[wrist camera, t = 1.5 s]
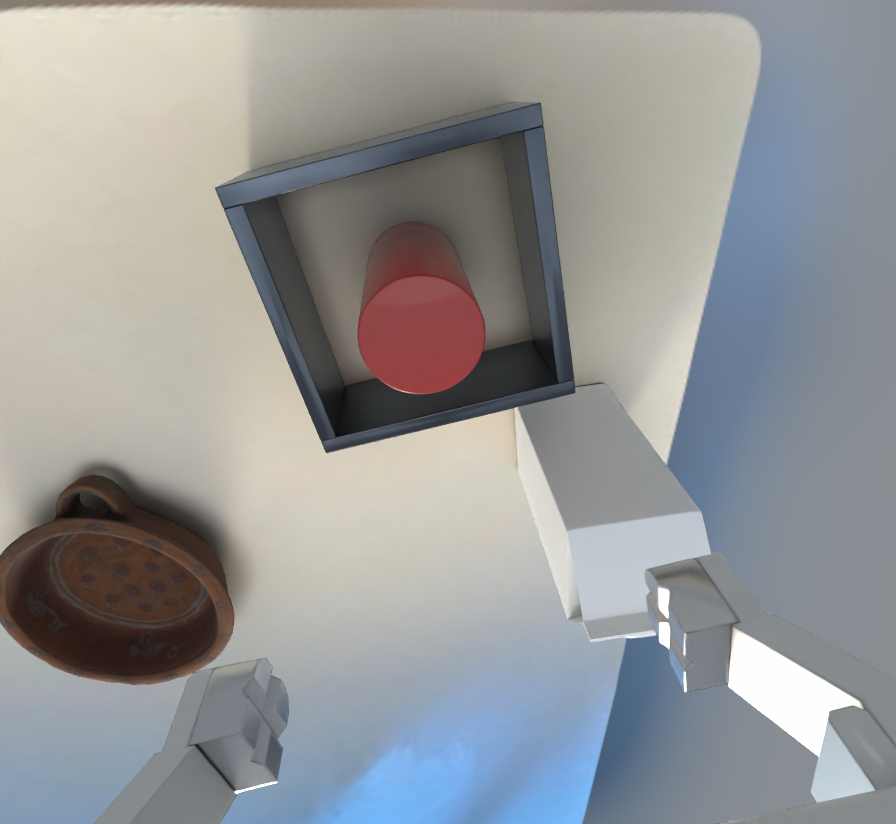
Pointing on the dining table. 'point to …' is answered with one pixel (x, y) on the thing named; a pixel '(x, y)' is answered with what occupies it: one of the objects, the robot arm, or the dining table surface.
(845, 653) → the robot arm
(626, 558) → the milk carton
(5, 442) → the dining table surface
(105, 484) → the dish
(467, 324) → the can
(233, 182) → the open box
